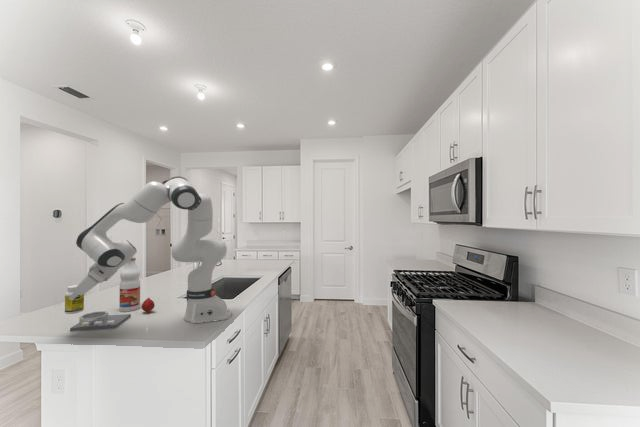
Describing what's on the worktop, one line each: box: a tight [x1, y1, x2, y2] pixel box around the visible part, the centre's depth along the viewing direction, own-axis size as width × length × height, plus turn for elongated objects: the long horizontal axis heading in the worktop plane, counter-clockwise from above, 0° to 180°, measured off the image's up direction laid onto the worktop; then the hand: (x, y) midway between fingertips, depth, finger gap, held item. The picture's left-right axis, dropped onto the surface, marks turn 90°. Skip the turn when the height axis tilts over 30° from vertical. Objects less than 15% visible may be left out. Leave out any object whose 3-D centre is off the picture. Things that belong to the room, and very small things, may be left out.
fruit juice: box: [119, 256, 141, 313], centre depth 157 cm, size 9×9×28 cm
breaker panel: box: [69, 313, 132, 332], centre depth 136 cm, size 18×15×3 cm
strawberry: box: [141, 297, 155, 314], centre depth 151 cm, size 6×6×8 cm
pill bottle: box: [64, 284, 85, 315], centre depth 122 cm, size 6×6×11 cm
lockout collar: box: [78, 310, 109, 324], centre depth 136 cm, size 10×10×2 cm
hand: (72, 296), depth 122 cm, fingers closed on pill bottle, 6 cm apart
